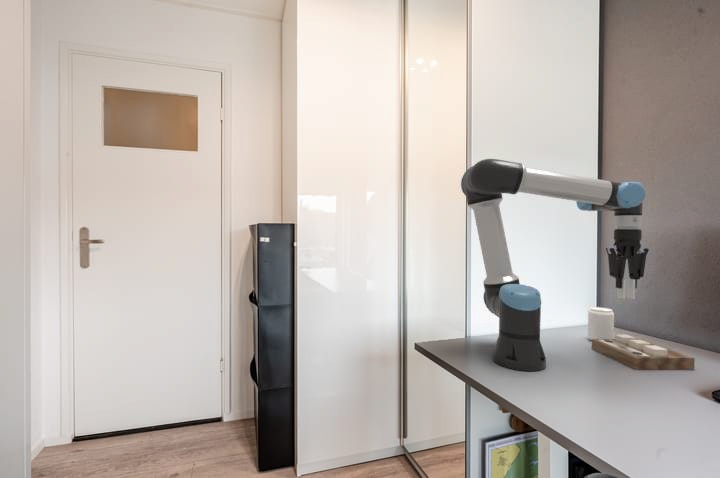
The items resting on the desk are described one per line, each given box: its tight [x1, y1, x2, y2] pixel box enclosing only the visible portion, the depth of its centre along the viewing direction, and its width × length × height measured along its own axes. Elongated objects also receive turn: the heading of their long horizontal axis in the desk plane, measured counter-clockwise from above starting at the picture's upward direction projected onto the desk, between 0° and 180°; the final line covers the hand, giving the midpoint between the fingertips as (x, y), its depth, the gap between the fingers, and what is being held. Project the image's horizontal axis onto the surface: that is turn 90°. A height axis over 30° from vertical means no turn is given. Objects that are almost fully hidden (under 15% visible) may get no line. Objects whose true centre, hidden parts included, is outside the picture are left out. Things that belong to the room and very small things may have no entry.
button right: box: [643, 345, 667, 357], centre depth 110 cm, size 4×4×3 cm
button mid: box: [628, 340, 651, 350], centre depth 116 cm, size 4×4×3 cm
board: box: [591, 338, 695, 371], centre depth 116 cm, size 18×19×4 cm
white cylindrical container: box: [587, 306, 615, 341], centre depth 135 cm, size 8×8×12 cm
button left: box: [614, 333, 636, 344], centre depth 122 cm, size 4×4×3 cm
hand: (625, 297), depth 122 cm, fingers open, 3 cm apart
